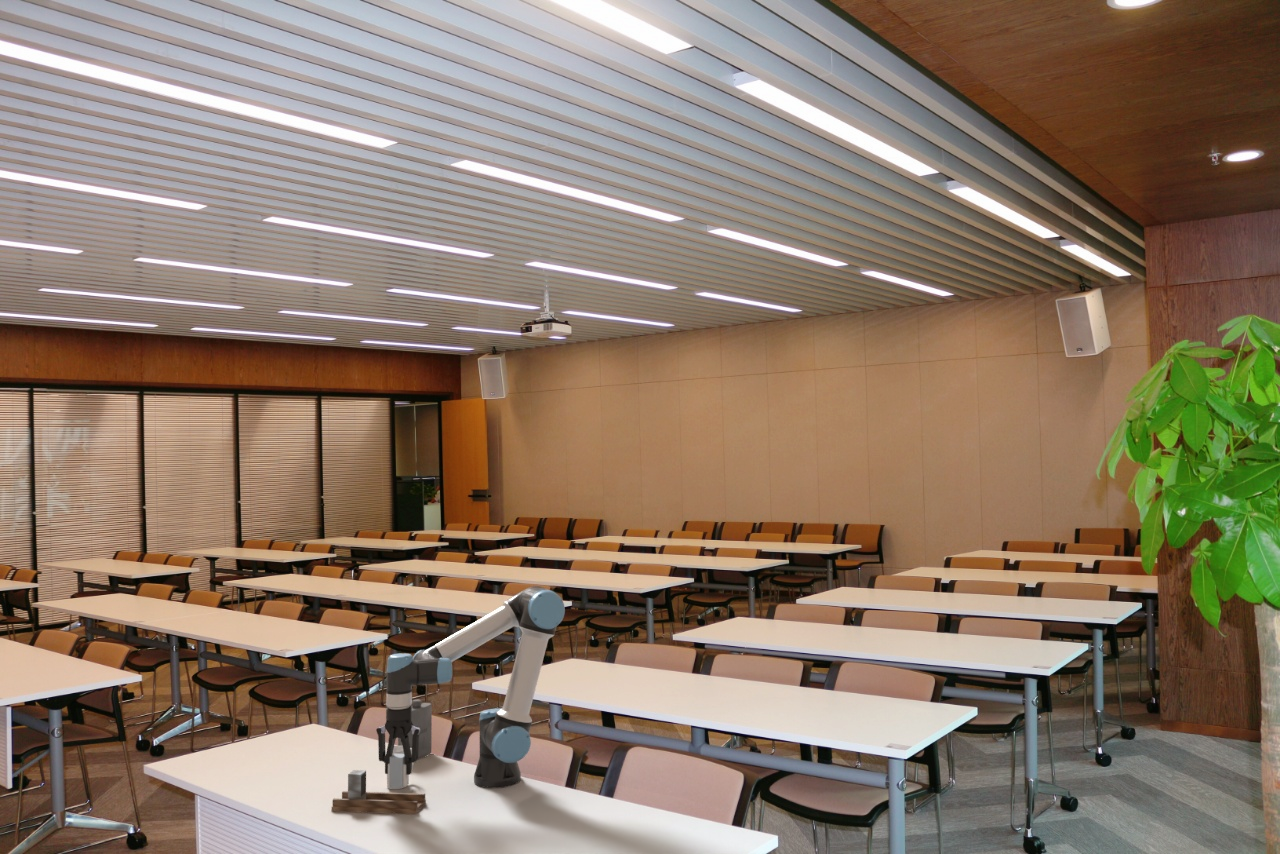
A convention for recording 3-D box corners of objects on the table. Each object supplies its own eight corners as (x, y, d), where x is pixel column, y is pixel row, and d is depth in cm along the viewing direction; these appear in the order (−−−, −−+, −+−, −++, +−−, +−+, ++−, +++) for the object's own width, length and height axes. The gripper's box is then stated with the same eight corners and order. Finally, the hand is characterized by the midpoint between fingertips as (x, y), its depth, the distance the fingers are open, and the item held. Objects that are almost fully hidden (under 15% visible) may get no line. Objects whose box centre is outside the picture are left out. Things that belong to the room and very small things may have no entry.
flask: (407, 764, 331) (408, 705, 332) (395, 761, 334) (395, 703, 335) (436, 752, 344) (436, 696, 345) (423, 750, 347) (423, 695, 348)
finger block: (407, 784, 289) (407, 753, 290) (402, 788, 285) (402, 757, 286) (394, 783, 290) (394, 753, 290) (389, 787, 286) (389, 757, 286)
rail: (425, 803, 291) (426, 769, 291) (415, 814, 282) (415, 779, 282) (344, 800, 294) (344, 767, 294) (331, 811, 285) (331, 776, 285)
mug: (394, 791, 303) (395, 752, 303) (382, 786, 307) (382, 748, 307) (420, 782, 310) (420, 745, 311) (407, 778, 315) (407, 742, 315)
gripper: (430, 704, 291) (429, 782, 290) (376, 702, 293) (375, 780, 292) (422, 710, 284) (421, 790, 283) (366, 708, 286) (365, 788, 285)
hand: (398, 784), depth 287 cm, fingers closed on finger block, 4 cm apart
